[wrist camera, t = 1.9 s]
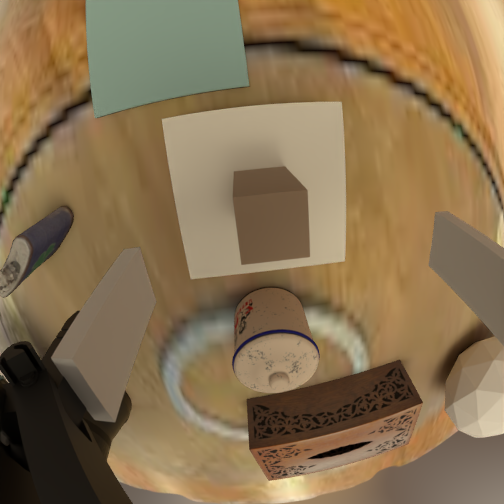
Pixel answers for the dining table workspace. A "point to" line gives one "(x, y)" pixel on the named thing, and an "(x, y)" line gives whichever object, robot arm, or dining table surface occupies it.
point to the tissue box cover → (333, 422)
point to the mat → (162, 50)
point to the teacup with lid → (273, 342)
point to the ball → (477, 389)
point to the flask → (34, 248)
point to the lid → (259, 186)
